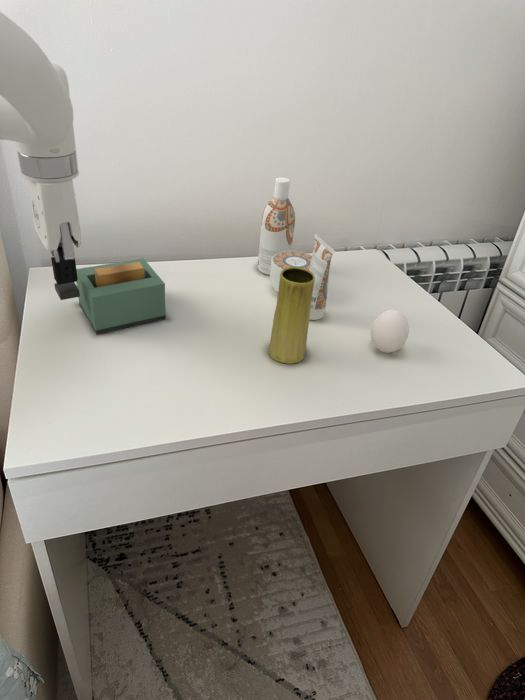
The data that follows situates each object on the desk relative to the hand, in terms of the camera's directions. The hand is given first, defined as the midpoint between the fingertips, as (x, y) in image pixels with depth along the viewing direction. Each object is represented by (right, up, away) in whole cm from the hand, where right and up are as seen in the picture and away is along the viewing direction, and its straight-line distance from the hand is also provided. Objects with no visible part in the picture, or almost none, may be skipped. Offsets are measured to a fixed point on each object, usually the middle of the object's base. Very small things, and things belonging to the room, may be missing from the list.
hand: (66, 280), depth 84 cm
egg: (+52, -11, +6) cm, 53 cm away
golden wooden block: (+7, -4, +8) cm, 11 cm away
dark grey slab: (0, -2, +1) cm, 2 cm away
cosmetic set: (+37, 0, +20) cm, 42 cm away
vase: (+35, -12, +3) cm, 37 cm away
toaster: (+7, -4, +8) cm, 12 cm away
